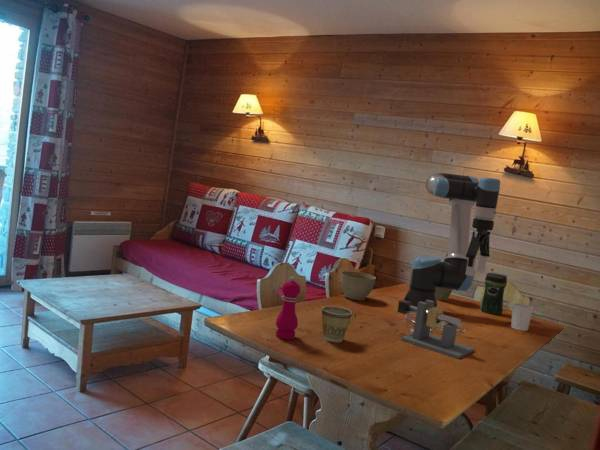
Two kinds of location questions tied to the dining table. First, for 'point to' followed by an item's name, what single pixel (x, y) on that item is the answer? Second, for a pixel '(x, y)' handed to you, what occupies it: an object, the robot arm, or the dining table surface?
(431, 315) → the spacer
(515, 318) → the white cup
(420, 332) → the shaft stand
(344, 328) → the ceramic cup
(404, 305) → the shaft
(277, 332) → the pepper mill
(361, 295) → the planter bowl
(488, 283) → the coffee jar
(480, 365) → the dining table surface
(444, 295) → the plant pot
